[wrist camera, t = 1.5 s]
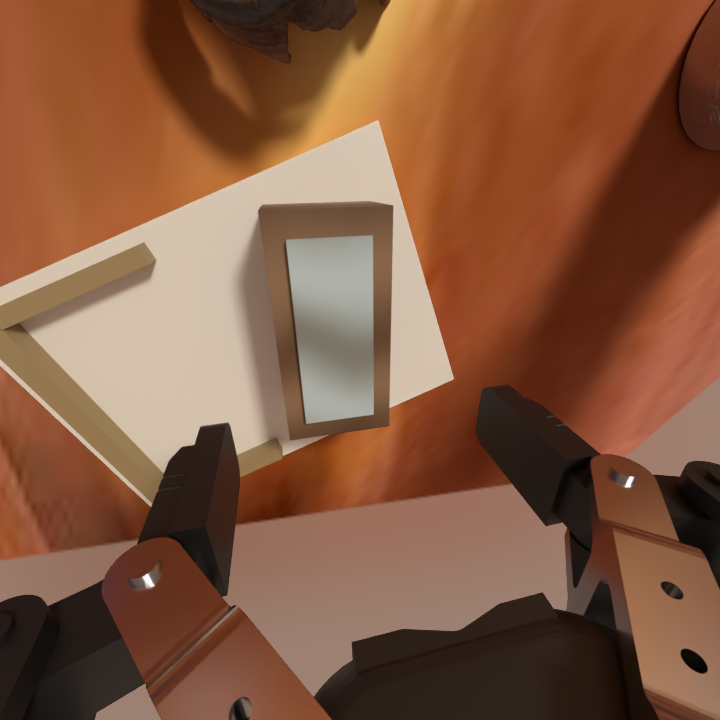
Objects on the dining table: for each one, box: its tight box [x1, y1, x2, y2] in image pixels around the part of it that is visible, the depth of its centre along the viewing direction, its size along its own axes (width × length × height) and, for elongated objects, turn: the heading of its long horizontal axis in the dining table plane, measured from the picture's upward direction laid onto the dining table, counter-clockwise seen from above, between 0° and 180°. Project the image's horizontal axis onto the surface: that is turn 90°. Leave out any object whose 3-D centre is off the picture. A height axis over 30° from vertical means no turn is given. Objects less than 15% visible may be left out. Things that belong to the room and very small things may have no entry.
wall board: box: [0, 120, 454, 507], centre depth 22 cm, size 24×17×2 cm
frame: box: [258, 201, 393, 440], centre depth 20 cm, size 12×6×5 cm, turn 1°
